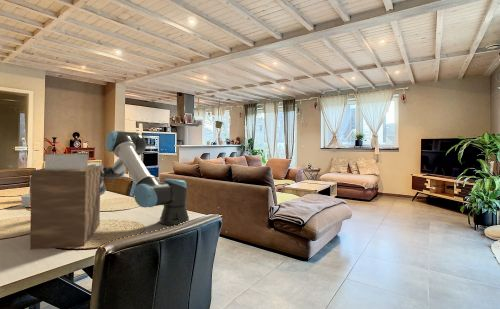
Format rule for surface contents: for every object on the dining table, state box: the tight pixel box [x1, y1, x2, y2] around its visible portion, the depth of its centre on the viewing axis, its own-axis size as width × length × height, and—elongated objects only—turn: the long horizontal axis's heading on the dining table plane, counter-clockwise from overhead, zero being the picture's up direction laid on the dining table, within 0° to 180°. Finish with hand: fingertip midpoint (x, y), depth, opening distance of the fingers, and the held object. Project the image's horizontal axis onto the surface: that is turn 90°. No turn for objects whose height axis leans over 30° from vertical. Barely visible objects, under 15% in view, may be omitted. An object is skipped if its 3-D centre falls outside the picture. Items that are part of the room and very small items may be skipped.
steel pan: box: [44, 152, 89, 170], centre depth 123 cm, size 32×12×6 cm, turn 18°
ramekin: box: [20, 193, 31, 208], centre depth 169 cm, size 13×13×7 cm
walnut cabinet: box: [29, 165, 101, 251], centre depth 118 cm, size 28×18×30 cm, turn 18°
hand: (87, 166), depth 146 cm, fingers open, 13 cm apart
